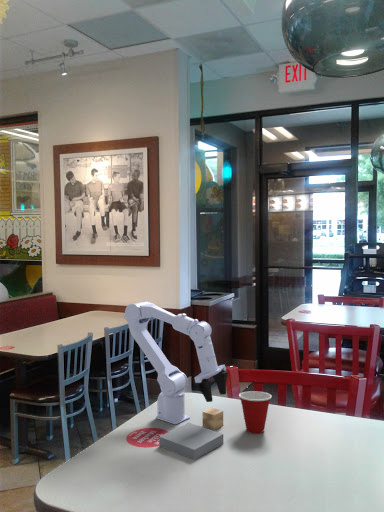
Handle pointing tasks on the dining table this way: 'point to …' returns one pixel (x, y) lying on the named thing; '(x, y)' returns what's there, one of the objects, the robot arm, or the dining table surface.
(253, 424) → the plastic cup
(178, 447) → the slate base
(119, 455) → the dining table surface
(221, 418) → the oak cube
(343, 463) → the dining table surface
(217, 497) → the dining table surface
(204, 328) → the robot arm
